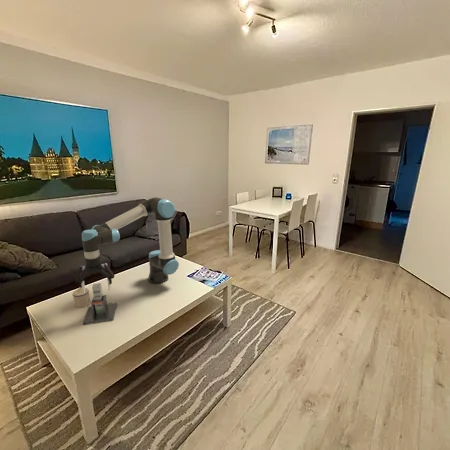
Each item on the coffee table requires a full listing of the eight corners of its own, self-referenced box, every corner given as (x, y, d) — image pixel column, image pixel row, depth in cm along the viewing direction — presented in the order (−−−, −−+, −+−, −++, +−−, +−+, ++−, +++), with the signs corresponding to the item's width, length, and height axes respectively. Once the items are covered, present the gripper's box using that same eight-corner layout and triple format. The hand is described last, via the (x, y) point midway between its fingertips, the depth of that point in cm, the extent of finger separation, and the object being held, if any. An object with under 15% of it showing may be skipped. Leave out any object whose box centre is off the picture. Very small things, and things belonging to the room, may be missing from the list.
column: (97, 310, 151) (93, 284, 146) (104, 309, 152) (101, 283, 147) (96, 315, 146) (91, 288, 142) (103, 314, 148) (99, 287, 143)
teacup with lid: (93, 303, 161) (90, 287, 158) (78, 310, 154) (75, 293, 151) (84, 297, 168) (82, 281, 165) (70, 303, 161) (67, 287, 158)
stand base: (89, 308, 155) (86, 293, 152) (116, 304, 160) (114, 290, 157) (82, 325, 140) (80, 308, 138) (113, 320, 145) (111, 304, 142)
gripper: (65, 261, 133) (71, 296, 139) (115, 257, 140) (119, 290, 146) (69, 256, 140) (74, 290, 146) (117, 252, 147) (120, 284, 152)
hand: (97, 290), depth 146 cm, fingers open, 13 cm apart
